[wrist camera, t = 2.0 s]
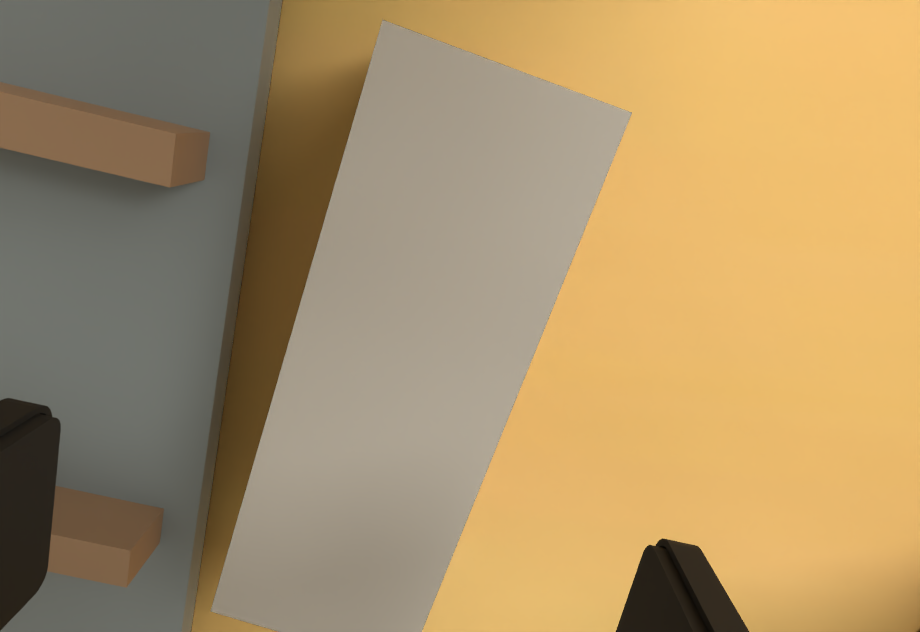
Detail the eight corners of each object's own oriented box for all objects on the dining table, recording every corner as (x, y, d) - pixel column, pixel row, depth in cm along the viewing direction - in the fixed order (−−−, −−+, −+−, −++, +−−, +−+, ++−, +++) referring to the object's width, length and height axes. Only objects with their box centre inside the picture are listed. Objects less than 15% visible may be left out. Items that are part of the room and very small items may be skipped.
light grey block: (407, 47, 17) (382, 19, 12) (588, 114, 18) (632, 112, 13) (270, 499, 21) (210, 611, 16) (421, 546, 21) (406, 669, 17)
